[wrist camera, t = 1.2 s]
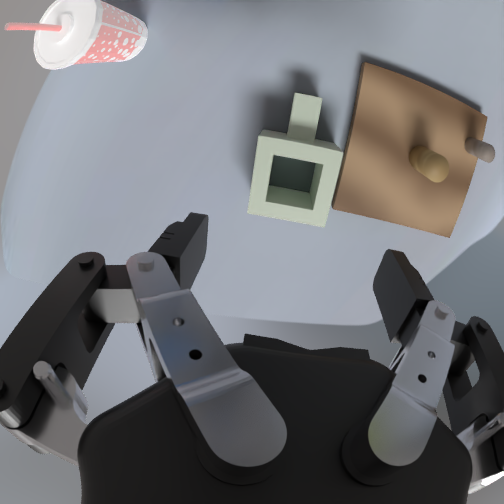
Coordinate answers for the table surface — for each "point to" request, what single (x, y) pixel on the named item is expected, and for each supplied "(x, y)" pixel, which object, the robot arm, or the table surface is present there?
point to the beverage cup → (84, 34)
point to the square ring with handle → (303, 148)
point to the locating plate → (409, 153)
